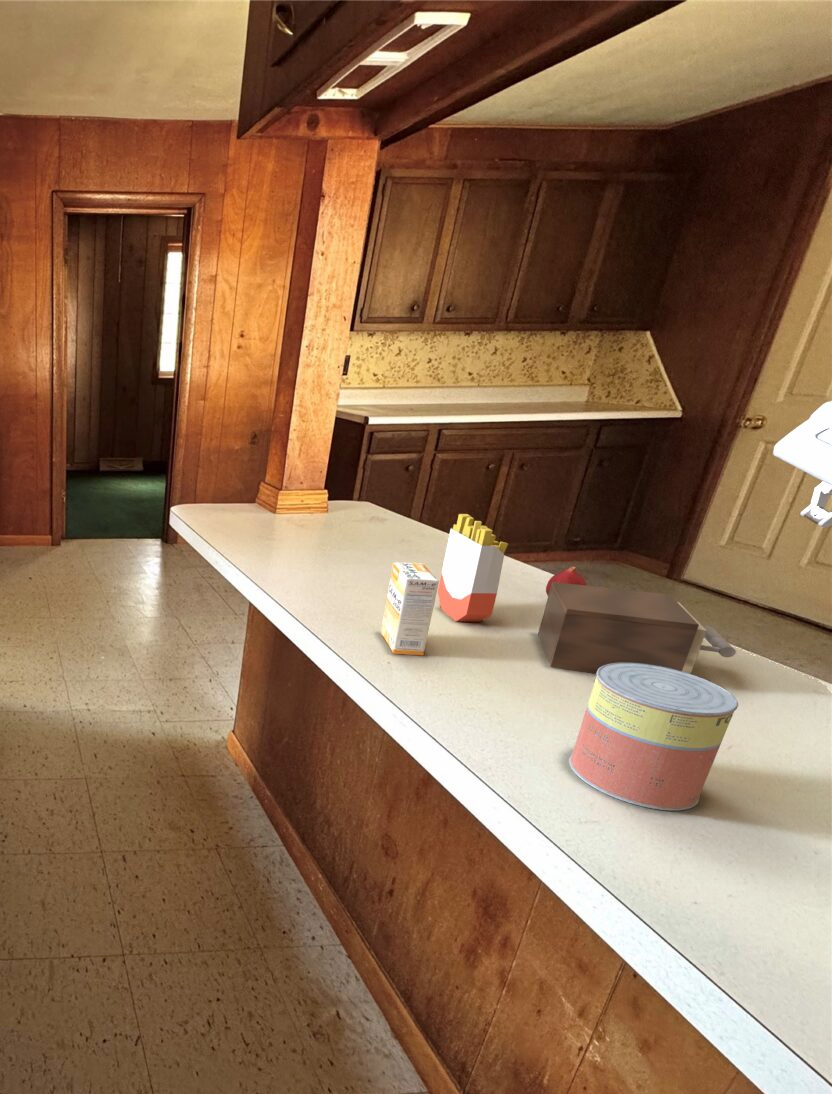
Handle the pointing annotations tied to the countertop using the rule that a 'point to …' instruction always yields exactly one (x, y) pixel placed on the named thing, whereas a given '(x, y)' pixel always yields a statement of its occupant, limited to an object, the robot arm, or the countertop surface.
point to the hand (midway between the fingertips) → (813, 521)
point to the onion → (566, 578)
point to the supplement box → (409, 608)
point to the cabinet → (613, 628)
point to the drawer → (713, 638)
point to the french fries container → (470, 571)
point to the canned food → (651, 734)
